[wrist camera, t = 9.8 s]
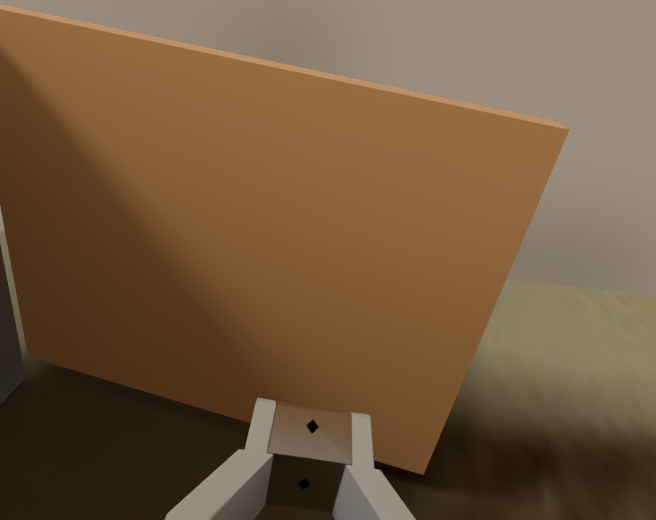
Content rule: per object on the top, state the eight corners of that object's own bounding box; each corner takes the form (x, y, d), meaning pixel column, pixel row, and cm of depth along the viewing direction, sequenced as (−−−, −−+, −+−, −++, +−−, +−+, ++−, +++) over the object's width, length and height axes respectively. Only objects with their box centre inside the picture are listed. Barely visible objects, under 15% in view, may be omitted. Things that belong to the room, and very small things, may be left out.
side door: (423, 474, 18) (569, 129, 12) (27, 356, 20) (-38, 1, 13) (424, 424, 20) (545, 115, 14) (70, 323, 22) (32, 7, 16)
